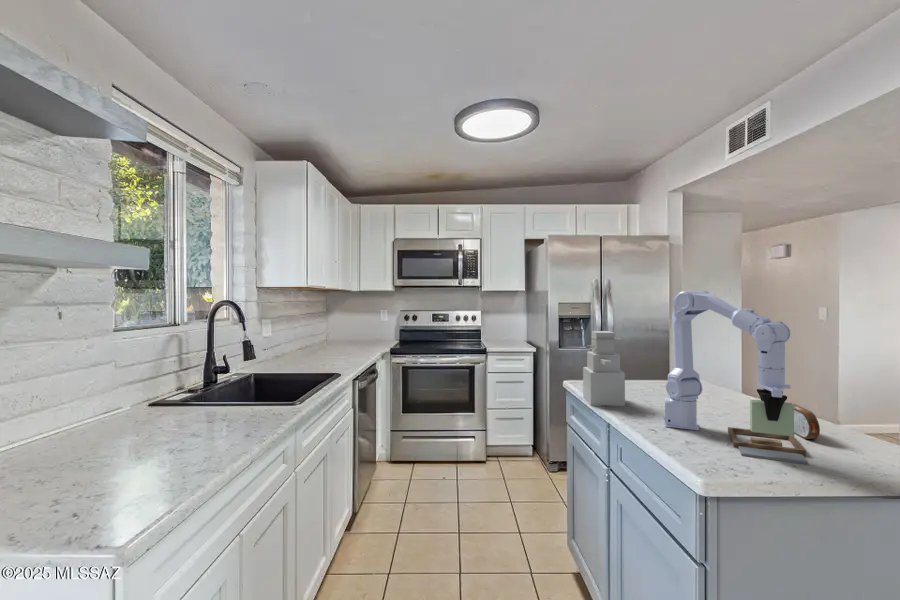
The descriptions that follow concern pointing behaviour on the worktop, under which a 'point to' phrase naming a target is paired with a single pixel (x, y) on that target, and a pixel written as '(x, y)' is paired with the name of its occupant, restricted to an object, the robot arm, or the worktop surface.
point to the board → (764, 425)
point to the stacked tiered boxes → (603, 372)
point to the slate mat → (772, 455)
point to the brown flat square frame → (792, 439)
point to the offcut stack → (765, 441)
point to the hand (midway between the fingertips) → (771, 418)
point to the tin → (805, 423)
